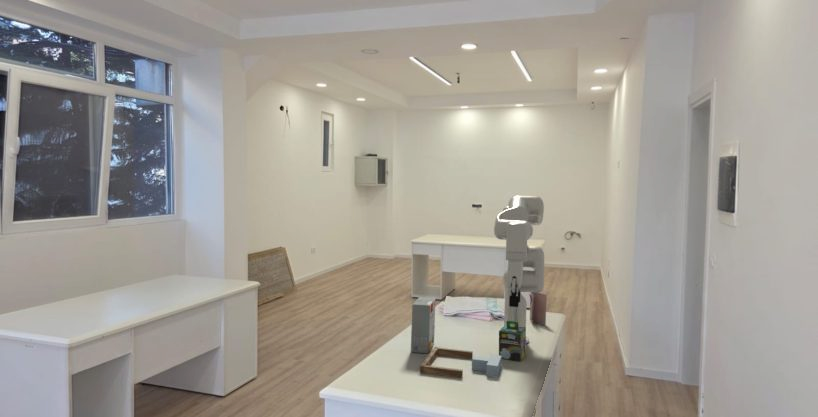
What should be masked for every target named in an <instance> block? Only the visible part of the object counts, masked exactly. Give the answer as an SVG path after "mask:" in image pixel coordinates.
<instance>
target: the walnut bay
mask: <svg viewBox="0 0 818 417" xmlns="http://www.w3.org/2000/svg"><path fill="white" fill-rule="evenodd" d="M437 356H447V357H455V358H463V359H471V360H472V358H473V357H474V355H473V351H472V350H463V349H455V348H447V347H444V348H443V347H437V346H434V348H433V349H432V350H431V351H430V352H429V353H428V355H427V357H426V358H425V359H424V360H423V362H422V363H421V365H420V366H419V373H420V374H425V375H426V374H428V375H433V376H434V375H435V376H442V377H450V378H458V379H462V378H463V377H464V376H463V375H464V374H463V373H464V372H463V369H459V368H451V367H450V368H449V367H444V366H437V365H436V366H435V365H431V364H432V363H433V362H434V360H436V358H437Z"/></svg>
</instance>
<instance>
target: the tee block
mask: <svg viewBox="0 0 818 417" xmlns="http://www.w3.org/2000/svg"><path fill="white" fill-rule="evenodd" d="M501 357H502V356H500V355H499V354H492V353H491V354H490V356H489V357H486V356H480V355H473V357H472V359H471V370H472V371H479V372H480V371H481V372H485V373H486V374H485V375H486V376H488V377H497V378H498V376H499V372H500V370H501V367H502V358H501Z"/></svg>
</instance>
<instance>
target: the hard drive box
mask: <svg viewBox="0 0 818 417" xmlns="http://www.w3.org/2000/svg"><path fill="white" fill-rule="evenodd" d="M435 319H436V297H423V296H419V297H418V298H417V299H416V300H415V301H414V302H413V304H412V305H411V333H410V334H411V335H410V352H411V353H420V354H430V352H431V349H432V347H433V346H434V344H435V331H436V330H435V328H436V324H435V323H436V320H435Z"/></svg>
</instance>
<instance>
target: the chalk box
mask: <svg viewBox="0 0 818 417" xmlns="http://www.w3.org/2000/svg"><path fill="white" fill-rule="evenodd" d="M510 324H514V325H515V326H510ZM526 331H527V326H526V327H518V322H514V321H507V325H505V326H504V325H503V326H502V327H501V328H500V329H499V330H498V355H500V356H502V357H501V359H504V360H509V361H515V362H521V361H522V360H523V358H524V357H525V356H526V352H527V350H526V349H527V347H526V345H527V343H526V337H527V336H526V335H527V333H526Z"/></svg>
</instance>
